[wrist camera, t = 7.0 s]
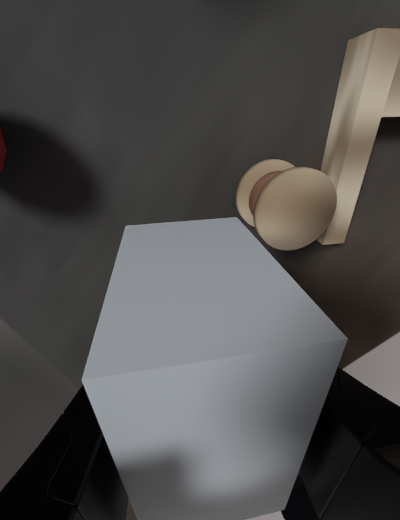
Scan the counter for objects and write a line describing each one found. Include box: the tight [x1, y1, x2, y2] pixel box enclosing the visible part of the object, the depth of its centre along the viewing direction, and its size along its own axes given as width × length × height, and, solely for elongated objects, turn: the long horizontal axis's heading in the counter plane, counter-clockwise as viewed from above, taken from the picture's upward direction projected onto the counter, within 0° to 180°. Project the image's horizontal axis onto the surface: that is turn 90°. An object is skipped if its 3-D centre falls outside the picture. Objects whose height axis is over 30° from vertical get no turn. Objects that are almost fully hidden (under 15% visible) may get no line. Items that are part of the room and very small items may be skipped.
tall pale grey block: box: [82, 217, 348, 520], centre depth 8 cm, size 7×4×6 cm, turn 1°
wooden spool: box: [235, 159, 337, 250], centre depth 19 cm, size 6×6×5 cm
